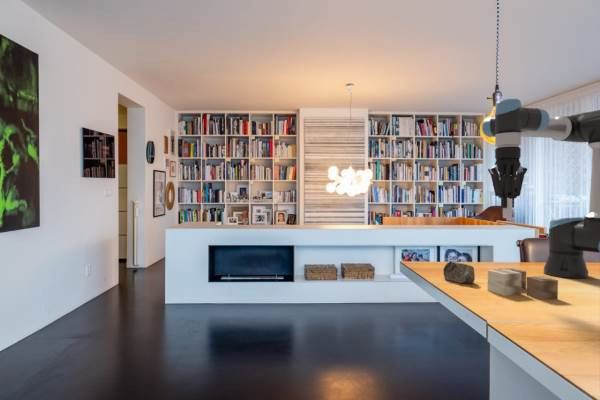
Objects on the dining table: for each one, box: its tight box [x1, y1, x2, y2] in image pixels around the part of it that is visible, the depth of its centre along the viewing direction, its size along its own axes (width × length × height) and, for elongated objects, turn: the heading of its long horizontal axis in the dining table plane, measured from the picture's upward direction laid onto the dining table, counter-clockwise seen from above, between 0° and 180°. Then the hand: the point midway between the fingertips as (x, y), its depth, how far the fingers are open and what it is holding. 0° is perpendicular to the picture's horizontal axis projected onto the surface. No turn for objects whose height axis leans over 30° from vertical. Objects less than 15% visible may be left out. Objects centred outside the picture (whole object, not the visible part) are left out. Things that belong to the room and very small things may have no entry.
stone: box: [443, 260, 476, 284], centre depth 150 cm, size 7×12×7 cm, turn 33°
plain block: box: [487, 268, 522, 297], centre depth 133 cm, size 7×7×7 cm
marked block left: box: [525, 275, 559, 301], centre depth 127 cm, size 6×6×6 cm
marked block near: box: [505, 267, 527, 290], centre depth 141 cm, size 6×6×6 cm
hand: (507, 217), depth 134 cm, fingers closed
